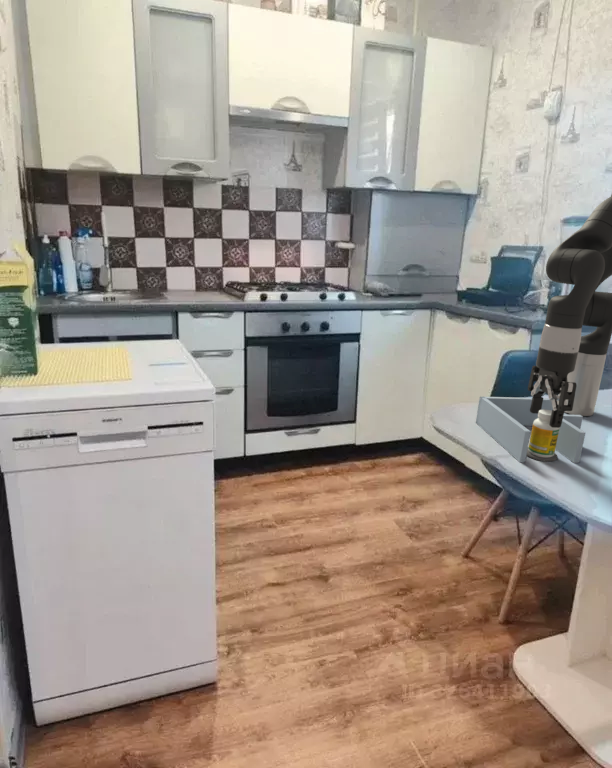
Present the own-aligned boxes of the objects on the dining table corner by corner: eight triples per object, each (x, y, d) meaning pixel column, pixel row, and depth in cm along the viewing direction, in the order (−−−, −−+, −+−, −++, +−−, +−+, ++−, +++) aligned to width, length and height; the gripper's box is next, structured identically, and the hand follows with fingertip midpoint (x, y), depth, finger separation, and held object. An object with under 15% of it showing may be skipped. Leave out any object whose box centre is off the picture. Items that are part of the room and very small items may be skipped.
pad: (517, 448, 122) (517, 446, 122) (546, 448, 123) (547, 447, 123) (532, 461, 116) (533, 459, 115) (563, 461, 116) (564, 460, 116)
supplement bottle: (531, 446, 123) (539, 406, 120) (556, 453, 120) (564, 412, 117) (524, 453, 119) (532, 412, 116) (550, 460, 116) (559, 418, 113)
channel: (475, 422, 137) (479, 396, 135) (547, 424, 139) (552, 398, 137) (519, 462, 115) (525, 431, 113) (604, 463, 117) (611, 433, 115)
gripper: (596, 356, 106) (579, 432, 111) (558, 340, 120) (544, 408, 125) (559, 354, 106) (544, 431, 110) (525, 338, 119) (513, 408, 124)
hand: (544, 419), depth 117 cm, fingers open, 8 cm apart
